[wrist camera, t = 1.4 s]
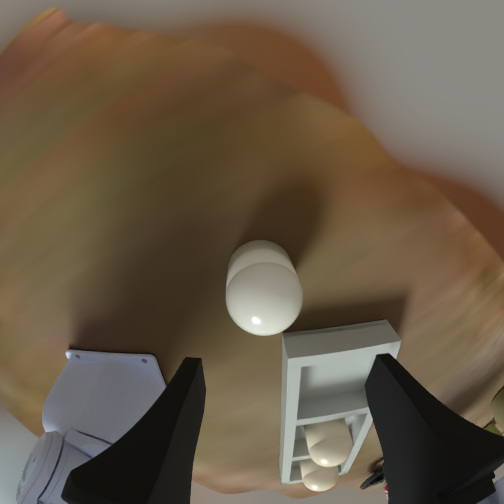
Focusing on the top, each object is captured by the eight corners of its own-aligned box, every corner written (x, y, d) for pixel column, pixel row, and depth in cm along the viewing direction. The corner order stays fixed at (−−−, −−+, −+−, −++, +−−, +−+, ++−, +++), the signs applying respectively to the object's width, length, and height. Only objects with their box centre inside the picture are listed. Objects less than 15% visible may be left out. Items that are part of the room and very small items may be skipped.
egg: (230, 300, 21) (228, 354, 15) (224, 242, 19) (219, 284, 14) (291, 295, 21) (308, 347, 15) (291, 237, 19) (312, 277, 14)
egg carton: (279, 467, 31) (283, 505, 25) (282, 332, 22) (295, 394, 16) (342, 457, 31) (352, 492, 25) (386, 319, 22) (421, 368, 16)
